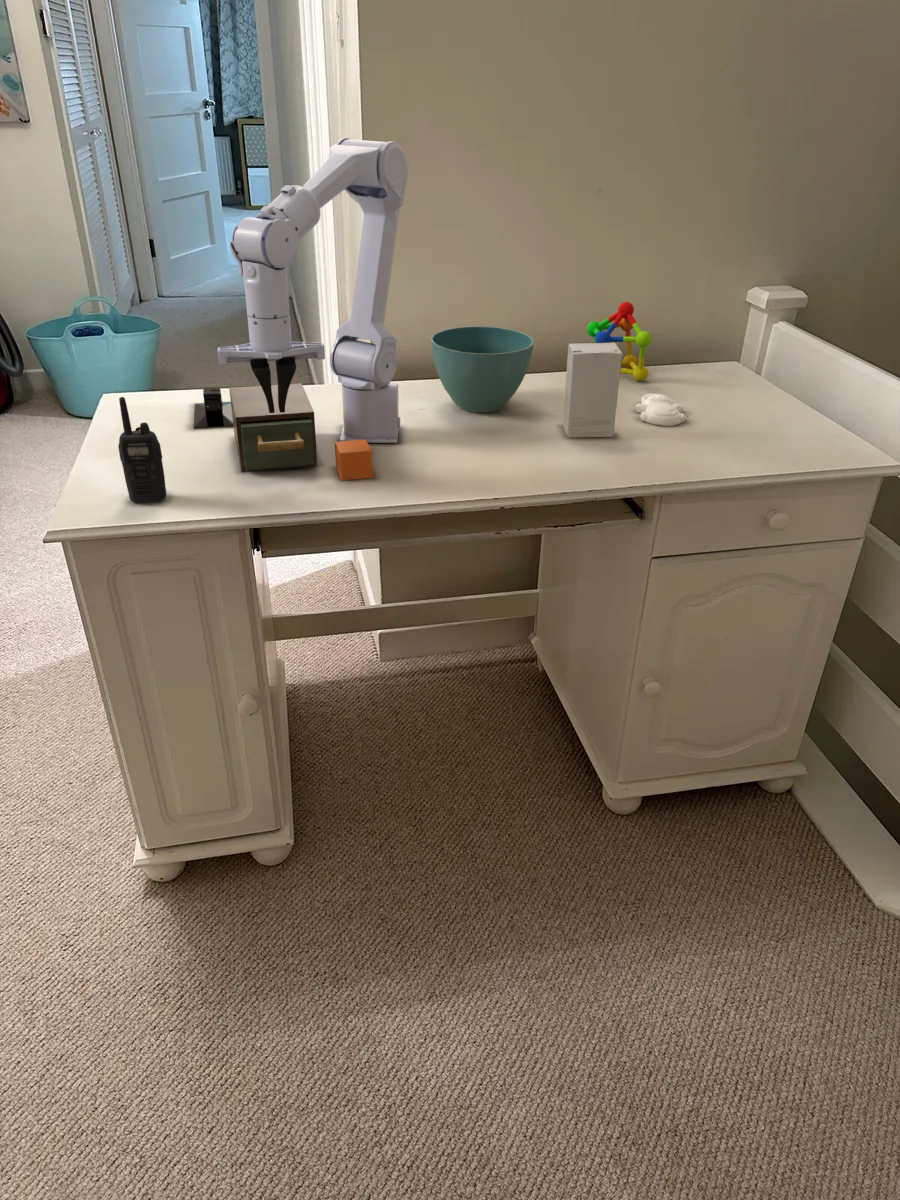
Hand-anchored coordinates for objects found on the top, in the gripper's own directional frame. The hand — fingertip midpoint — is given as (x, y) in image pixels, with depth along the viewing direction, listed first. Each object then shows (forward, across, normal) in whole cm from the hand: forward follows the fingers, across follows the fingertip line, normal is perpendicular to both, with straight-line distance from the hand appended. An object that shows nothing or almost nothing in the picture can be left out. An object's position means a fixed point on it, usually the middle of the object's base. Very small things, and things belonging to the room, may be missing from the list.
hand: (276, 410), depth 124 cm
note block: (+10, +11, -1) cm, 15 cm away
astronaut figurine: (+11, +70, +13) cm, 72 cm away
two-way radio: (+11, -19, -3) cm, 22 cm away
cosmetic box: (+11, +53, +8) cm, 55 cm away
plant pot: (+11, +39, +25) cm, 47 cm away
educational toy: (+11, +72, +37) cm, 82 cm away
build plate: (+11, -8, +29) cm, 32 cm away
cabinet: (+10, 0, +10) cm, 15 cm away
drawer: (+10, 0, +6) cm, 11 cm away
